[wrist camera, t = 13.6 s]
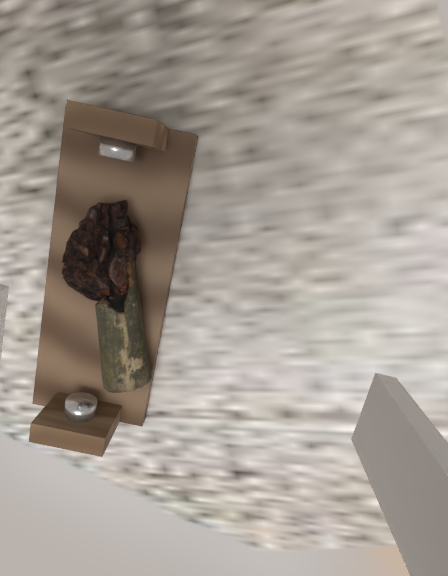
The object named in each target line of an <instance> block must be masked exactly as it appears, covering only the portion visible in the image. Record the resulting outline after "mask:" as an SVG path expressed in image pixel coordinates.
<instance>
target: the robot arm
mask: <svg viewBox="0 0 448 576" xmlns="http://www.w3.org/2000/svg"><path fill="white" fill-rule="evenodd" d="M8 289H9V286H5V285H1V284H0V359H1V352H2V343H3V334H4V325H5V316H6V307H7V298H8ZM352 442H353V444H354V446H355V449H356V451H357V453H358V456H359V458H360V460H361V463H362V465H363V467H364V470H365V472H366V474H367V477H368V479H369V481H370V483H371V486H372V488H373V490H374V493H375V495H376V497H377V500H378V502H379V504H380V507H381V509H382V511H383V514H384V516H385V518H386V520H387V523H388V525H389V527H390V530H391V532H392V534H393V537H394V539H395V541H396V544H397V546H398V548H399V551H400V553H401V555H402V557H403V560H404V562H405V564H406V567H407V569H408V571H409V574H410V576H448V443H447V441H446V440H445V439H444V438H443V436H442V435H441V434H440V433H439V431H438V430H437V429H436V428H435V426H434V425H433V424H432V422H431V421H430V420H429V419H428V417H427V416H426V415H425V414H424V412H423V411H422V410H421V409H420V407H419V406H418V405H417V403H416V402H415V401H414V400H413V398H412V397H411V396H410V395H409V393H408V392H407V391H406V390H405V388H404V387H403V386H402V384H401V383H400V382H399V381H398V379H397V378H395V377H390V376H386V375H382V374H378V373H375V376H374V378H373V381H372V384H371V387H370V389H369V392H368V395H367V398H366V400H365V403H364V406H363V409H362V412H361V414H360V417H359V420H358V423H357V425H356V428H355V431H354V434H353V436H352Z"/></svg>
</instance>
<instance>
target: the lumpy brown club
mask: <svg viewBox="0 0 448 576" xmlns="http://www.w3.org/2000/svg"><path fill="white" fill-rule="evenodd" d="M127 210H128V202H127V200H123V201H118V202H116V203H110V204H109V203H102V202H99V203H97V204H96V205H95V206H91V207H90V208H89V209H88V212H87V214H86V217H85V218H84V219H83V220H81V221H80V222H79V223H78V224H79V227H78V229H76V230H74V231H73V232H72V233H71V235H70V237H69V239H68V241H67V242H66V249H65V252H64V254H63V260H62V262H63V263H64V264H63V269H62V274H63V278H64V280H65V282H66V283H67V285H68V286H69V287H71V288H73V289H74V290H75V291H77V292H79V293H80V294H82V295H84V296H85V297H86V298H88V299H90V300H93V301H98V302H97V303H96V304H95V309H96V318H97V327H98V338H99V347H100V358H101V372H102V382H103V387H104V389H106V390H107V391H108V392H111V393H123V392H130V391H134V390H138V389H141V388H143V387H145V386H146V385H147V384H148V383H149V382H150V381H151V380H152V374H151V369H150V363H149V357H148V350H147V344H146V337H145V330H144V324H143V317H142V309H141V301H140V293H139V285H138V277H137V269H136V259H137V254H139V253H140V251H141V242H140V239H139V237H138V235H137V233H138V228H137V226H136V225H135V224H133V223H131V221H130V218H129V216H128V215H127Z"/></svg>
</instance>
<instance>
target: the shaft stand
mask: <svg viewBox="0 0 448 576" xmlns="http://www.w3.org/2000/svg"><path fill="white" fill-rule="evenodd" d="M197 140H198V136H197V135H194V134H190V133H186V132H181V131H177V130H172V129H169V128H168V127H166V126H165V125H164V124H162V123H161V122H159V121H158V120H156V119H151V118H147V117H142V116H138V115H133V114H129V113H124V112H120V111H115V110H111V109H107V108H102V107H98V106H93V105H89V104H84V103H80V102H75V101H71V100H67V104H66V107H65V116H64V125H63V134H62V143H61V152H60V161H59V170H58V179H57V188H56V197H55V206H54V215H53V224H52V233H51V242H50V251H49V260H48V269H47V278H46V287H45V296H44V305H43V314H42V323H41V332H40V341H39V350H38V359H37V368H36V377H35V386H34V395H33V404H37V405H42V406H45V407H44V408H43V410H42V411H41V412H40V413H39V414H38V415H37V417H36V418H35V419H34V420H33V421H32V423H31V427H30V436H29V442H33V443H38V444H43V445H47V446H52V447H57V448H62V449H67V450H72V451H77V452H81V453H86V454H91V455H96V456H101V457H102V456H103V454H104V452H105V450H106V448H107V446H108V444H109V442H110V440H111V438H112V436H113V434H114V432H115V430H116V428H117V426H118V424H119V422H124V423H128V424H133V425H138V426H143V423H144V420H145V417H146V412H147V406H148V401H149V396H150V390H151V385H152V380H153V374H154V369H155V364H156V358H157V353H158V348H159V342H160V337H161V332H162V326H163V321H164V316H165V310H166V305H167V300H168V295H169V289H170V284H171V279H172V273H173V268H174V263H175V257H176V252H177V247H178V241H179V236H180V231H181V225H182V220H183V215H184V209H185V204H186V199H187V193H188V188H189V183H190V177H191V172H192V167H193V162H194V156H195V151H196V146H197ZM123 200H127V202H128V210H127V215H128V216H129V218H130V221H131V223H133V224H135V225H136V226H137V228H138V233H137V235H138V237H139V239H140V242H141V251H140V253H139V254H137V259H136V269H137V277H138V285H139V293H140V301H141V309H142V317H143V324H144V330H145V337H146V344H147V350H148V357H149V363H150V369H151V374H152V380H151V381H150V382H149V383H148V384H147V385H146V386H145V387H143V388H141V389H138V390H134V391H130V392H123V393H111V392H108V391H107V390H106V389H104V387H103V382H102V372H101V358H100V347H99V338H98V327H97V318H96V309H95V304H96V303H97V302H98V301H93V300H90V299H88V298H86V297H85V296H84V295H82V294H80V293H79V292H77V291H75V290H74V289H73V288H71V287H69V286H68V285H67V283H66V282H65V280H64V278H63V274H62V269H63V264H64V263H63V262H62V260H63V254H64V252H65V249H66V242H67V241H68V239H69V237H70V235H71V233H72V232H73V231H74V230H76V229H78V227H79V224H78V223H79V222H80V221H81V220H83V219H84V218H85V217H86V214H87V212H88V209H89V208H90V207H91V206H95V205H96V204H97V203H99V202H102V203H109V204H110V203H116V202H118V201H123Z"/></svg>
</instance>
